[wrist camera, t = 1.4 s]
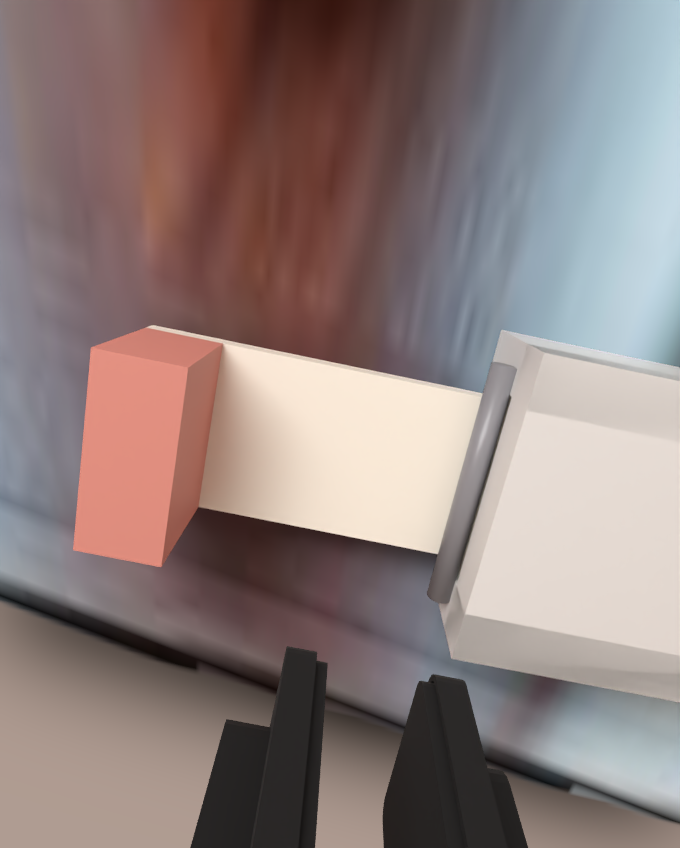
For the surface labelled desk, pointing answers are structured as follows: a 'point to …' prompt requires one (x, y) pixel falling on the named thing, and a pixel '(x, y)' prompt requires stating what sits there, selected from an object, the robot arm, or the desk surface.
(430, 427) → the long cream plank
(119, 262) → the desk surface
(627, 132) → the desk surface
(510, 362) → the block
